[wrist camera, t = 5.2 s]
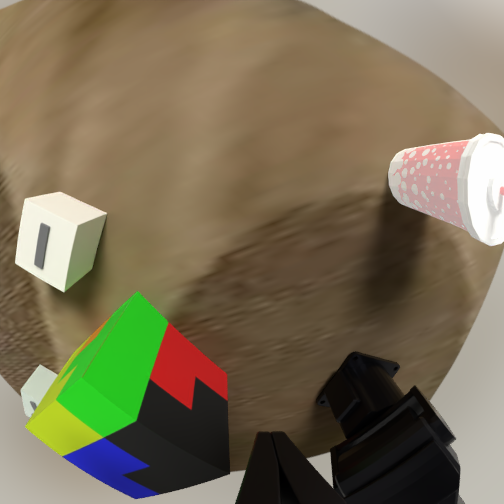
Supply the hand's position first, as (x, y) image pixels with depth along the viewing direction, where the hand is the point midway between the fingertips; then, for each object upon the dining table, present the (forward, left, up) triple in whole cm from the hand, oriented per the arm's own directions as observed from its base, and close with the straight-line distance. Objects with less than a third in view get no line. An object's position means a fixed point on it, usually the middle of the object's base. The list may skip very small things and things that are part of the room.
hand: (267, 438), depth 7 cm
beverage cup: (-8, -13, -13) cm, 20 cm away
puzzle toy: (+5, +10, -13) cm, 17 cm away
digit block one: (+13, +1, -13) cm, 19 cm away
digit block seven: (+13, +19, -13) cm, 27 cm away
